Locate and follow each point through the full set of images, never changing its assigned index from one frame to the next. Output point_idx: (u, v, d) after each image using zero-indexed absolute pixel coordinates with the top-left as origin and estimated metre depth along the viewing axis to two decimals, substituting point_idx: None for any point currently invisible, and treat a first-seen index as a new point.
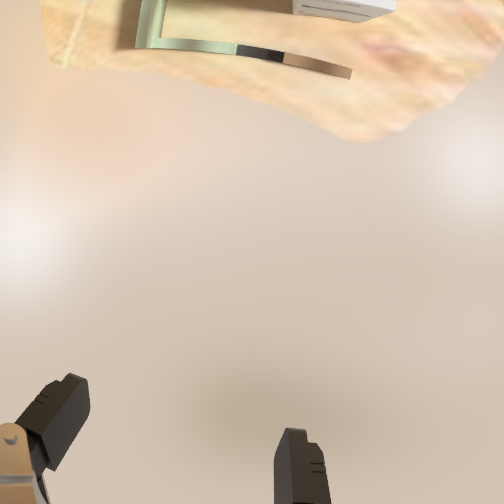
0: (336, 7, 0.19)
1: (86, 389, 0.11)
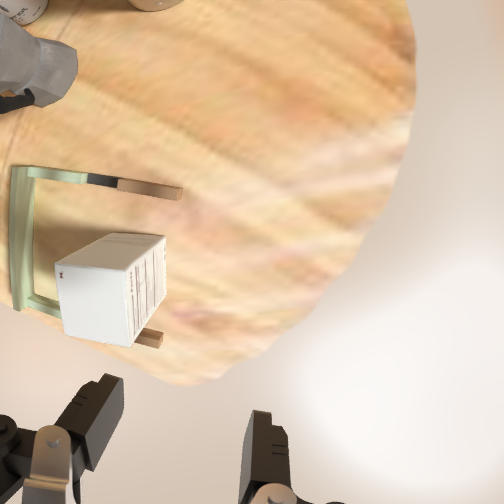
0: None
1: (122, 388, 0.11)
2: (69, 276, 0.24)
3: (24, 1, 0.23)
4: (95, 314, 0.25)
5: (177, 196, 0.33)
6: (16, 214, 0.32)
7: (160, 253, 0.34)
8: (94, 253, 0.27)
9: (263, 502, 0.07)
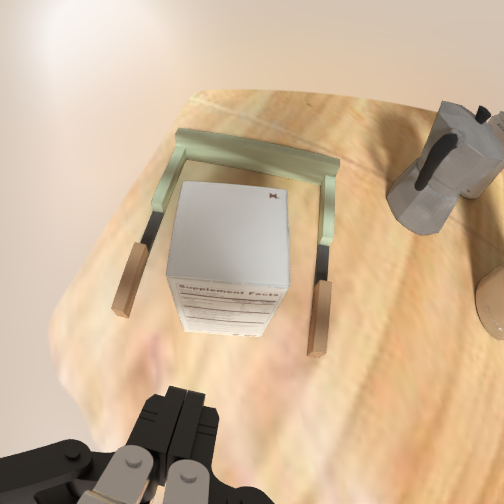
0: None
1: None
2: (273, 207, 0.21)
3: None
4: (220, 232, 0.19)
5: (316, 352, 0.27)
6: (290, 155, 0.36)
7: (248, 330, 0.27)
8: None
9: (178, 481, 0.07)
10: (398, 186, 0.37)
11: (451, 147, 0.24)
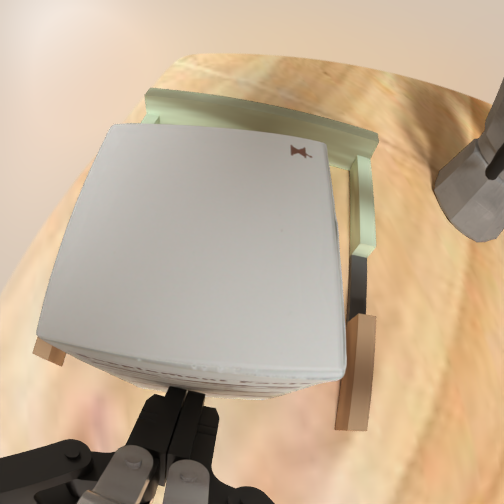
0: None
1: None
2: (300, 173, 0.09)
3: None
4: (171, 228, 0.08)
5: None
6: (308, 124, 0.24)
7: (243, 398, 0.15)
8: None
9: (178, 481, 0.07)
10: (451, 175, 0.25)
11: None
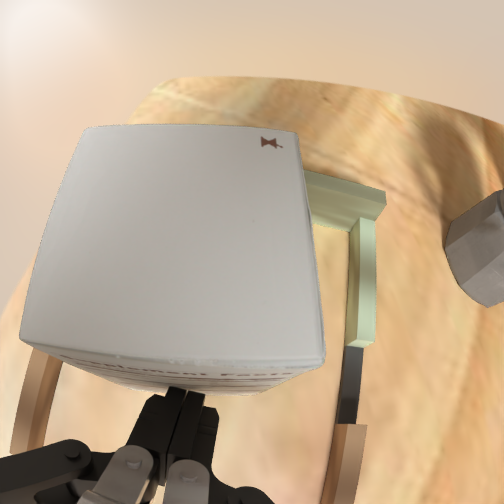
0: None
1: None
2: (271, 164, 0.09)
3: None
4: (144, 225, 0.07)
5: None
6: None
7: None
8: None
9: (178, 481, 0.07)
10: (466, 235, 0.22)
11: None
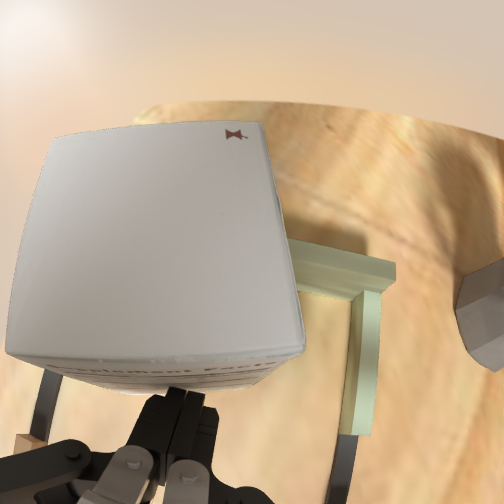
0: None
1: None
2: (237, 155, 0.09)
3: None
4: (114, 228, 0.07)
5: None
6: (298, 261, 0.18)
7: (226, 389, 0.15)
8: None
9: (178, 481, 0.07)
10: (480, 300, 0.19)
11: None
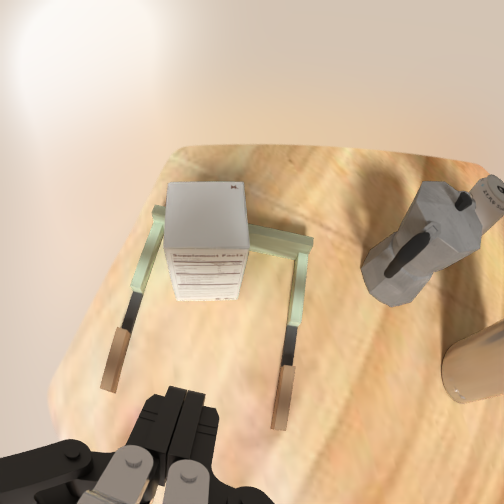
0: None
1: None
2: (234, 194, 0.29)
3: None
4: (198, 215, 0.28)
5: (277, 429, 0.29)
6: (263, 236, 0.38)
7: (226, 293, 0.35)
8: None
9: (178, 481, 0.07)
10: (372, 260, 0.39)
11: (421, 250, 0.26)
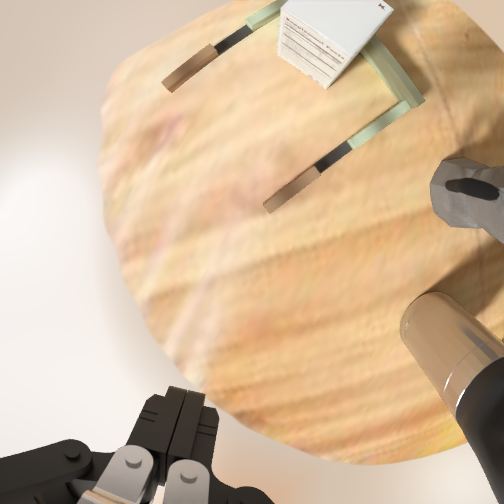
0: None
1: None
2: (376, 11, 0.20)
3: None
4: (331, 4, 0.20)
5: None
6: (386, 62, 0.28)
7: (318, 77, 0.31)
8: None
9: (178, 481, 0.07)
10: (454, 165, 0.32)
11: (480, 197, 0.21)
